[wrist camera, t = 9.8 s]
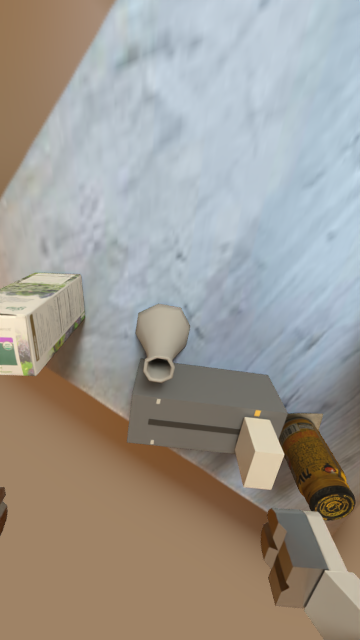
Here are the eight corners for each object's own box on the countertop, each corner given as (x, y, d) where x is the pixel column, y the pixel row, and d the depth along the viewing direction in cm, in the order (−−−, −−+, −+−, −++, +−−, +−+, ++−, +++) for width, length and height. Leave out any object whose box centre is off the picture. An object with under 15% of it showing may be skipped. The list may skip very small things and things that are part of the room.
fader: (234, 449, 36) (243, 486, 31) (244, 417, 34) (255, 451, 29) (258, 452, 36) (271, 489, 31) (269, 419, 34) (284, 454, 29)
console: (135, 400, 43) (126, 442, 35) (140, 358, 40) (132, 394, 33) (255, 414, 44) (271, 458, 37) (268, 375, 41) (288, 413, 34)
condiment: (312, 449, 47) (355, 527, 36) (260, 449, 47) (286, 526, 36) (322, 412, 44) (371, 484, 33) (266, 411, 44) (296, 483, 33)
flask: (193, 349, 40) (198, 395, 31) (140, 356, 40) (130, 403, 31) (186, 299, 37) (190, 332, 28) (130, 306, 37) (115, 341, 28)
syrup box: (41, 315, 38) (-34, 379, 24) (34, 270, 35) (-53, 312, 22) (86, 317, 38) (36, 381, 24) (82, 271, 36) (24, 315, 22)
